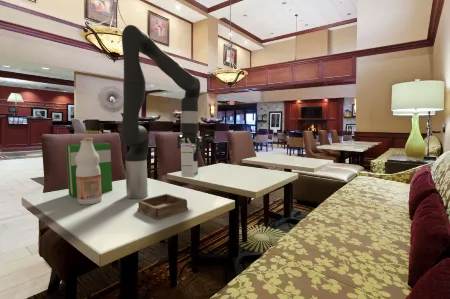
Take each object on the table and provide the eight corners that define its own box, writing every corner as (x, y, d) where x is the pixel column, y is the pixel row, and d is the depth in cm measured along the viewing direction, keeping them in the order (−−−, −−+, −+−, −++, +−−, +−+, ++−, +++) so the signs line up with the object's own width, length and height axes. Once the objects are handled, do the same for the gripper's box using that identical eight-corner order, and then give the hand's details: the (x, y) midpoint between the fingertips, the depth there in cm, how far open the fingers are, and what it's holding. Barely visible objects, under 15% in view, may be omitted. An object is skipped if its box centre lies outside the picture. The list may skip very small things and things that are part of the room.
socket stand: (137, 210, 99) (137, 200, 98) (167, 202, 109) (167, 193, 108) (157, 220, 89) (157, 209, 89) (188, 209, 100) (188, 200, 99)
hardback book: (73, 197, 115) (69, 146, 113) (68, 194, 121) (65, 144, 118) (112, 190, 128) (110, 143, 125) (106, 187, 133) (104, 142, 130)
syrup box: (194, 177, 106) (194, 143, 105) (180, 176, 107) (180, 143, 106) (198, 174, 112) (198, 142, 110) (185, 174, 113) (185, 142, 111)
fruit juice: (72, 204, 106) (68, 138, 103) (89, 197, 115) (85, 137, 112) (91, 206, 104) (87, 138, 101) (106, 199, 113) (103, 137, 110)
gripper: (172, 121, 109) (172, 159, 111) (194, 122, 100) (194, 163, 101) (185, 122, 115) (185, 157, 116) (207, 122, 105) (207, 161, 107)
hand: (189, 160), depth 109 cm, fingers closed on syrup box, 7 cm apart
